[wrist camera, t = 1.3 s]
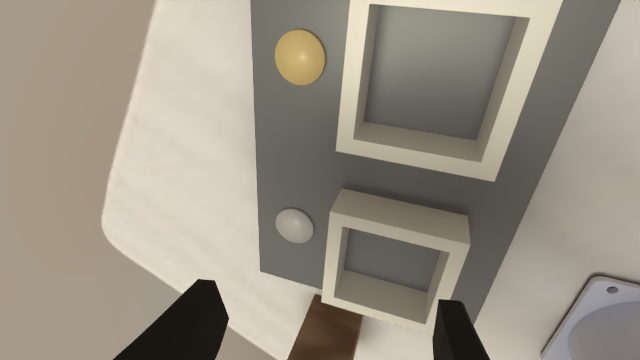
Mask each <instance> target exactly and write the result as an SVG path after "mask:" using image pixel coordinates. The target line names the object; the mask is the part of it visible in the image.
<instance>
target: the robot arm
mask: <svg viewBox="0 0 640 360" xmlns="http://www.w3.org/2000/svg"><path fill="white" fill-rule="evenodd" d="M609 287H613V288H609ZM228 320H229V317H228V314H227V312H226V309H225V306H224V304H223V301H222V298H221V296H220V293H219V291H218V288H217V285H216V283H215V281H214V280H202V279H198V280H197V281H196V282H195V283H194V284H193V285H192V286H191V287H190V288H189V289H188V290H187V291H186V292H184V293H183V294H182V295H181V296H180V297H179V298H178V299H177V300H176V301H175V302H174V303H173V304H172V305H171V306H170V307H169V308H168V309H167V310H166V311H165V312H164V313H163V314H162V315H161V316H160V317H159V318H158V319H157V320H156V321H155V322H154V323H153V324H152V325H150V326H149V327H148V328H147V329H146V330H145V331H144V332H143V333H142V334H141V335H140V336H139V337H138V338H137V339H135V340H134V341H133V342H132V343H131V344H130V345H129V346H128V347H126V349H124V350H123V351H122V352H121V353H120V354H119V355H117V356H116V357H115V358H114V359H113V360H215V358H216V356H217V354H218V351H219V349H220V346H221V343H222V340H223V337H224V334H225V330H226V327H227V324H228ZM433 355H434V360H490V358H489V356H488V354H487V353H486V351H485V349H484V347H483V345H482V343H481V341H480V339H479V337H478V335H477V333H476V331H475V328H474V326H473V324H472V322H471V320H470V317H469V315H468V313H467V310H466V308H465V305H464V303H462V302H461V301H457V300H444V299H439V300H438V306H437V313H436V320H435V326H434V333H433ZM541 360H640V285H637V284H633V283H628V282H624V281H620V280H616V279H612V278H607V277H602V276H598V277H594V278H592V279H591V280H590V281H589V282H588V284H587V285H586V287H585V288H584V290H583V291H582V293H581V294H580V296H579V298H578V299H577V301H576V302H575V304H574V305H573V307H572V308H571V310H570V311H569V313H568V314H567V316H566V317H565V319H564V320H563V322H562V323H561V325H560V327H559V328H558V330H557V331H556V333H555V334H554V336H553V337H552V339H551V340H550V342H549V343H548V345H547V346H546V348H545V349H544V351H543V352H542V354H541Z"/></svg>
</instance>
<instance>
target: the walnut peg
mask: <svg viewBox="0 0 640 360" xmlns="http://www.w3.org/2000/svg"><path fill="white" fill-rule="evenodd" d="M321 299H322V296H320V295H317V294H315V295H314V298H313V300H312V303H311V305H310V307H309V310H308V312H307V314H306V317H305V319H304V322H303V324H302V326H301V329H300V331H299V333H298V336H297V338H296V340H295V343H294V345H293V348H292V350H291V352H290V355H289V357H288V359H287V360H353V359H354V355H355V351H356V347H357V342H358V338H359V333H360V327H361V322H362V317H363V315H362V314H359V313H356V312H352V311H349V310H346V309H342V308H339V307H336V306H333V305H329V304H326V303H323V302H321Z"/></svg>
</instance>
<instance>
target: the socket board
mask: <svg viewBox="0 0 640 360" xmlns="http://www.w3.org/2000/svg"><path fill="white" fill-rule="evenodd" d="M620 1H621V0H251V28H252V56H253V83H254V111H255V139H256V167H257V195H258V223H259V251H260V271H261V272H264V273H268V274H271V275H275V276H278V277H281V278H285V279H288V280H292V281H295V282H298V283H302V284H305V285H308V286H312V287H315V288H319V289H322V299H321V302H323V303H326V304H329V305H333V306H336V307H339V308H342V309H346V310H349V311H352V312H356V313H359V314H362V315H365V316H369V317H372V318H375V319H378V320H382V321H385V322H388V323H392V324H395V325H398V326H401V327H405V328H408V329H411V330H415V331H418V332H421V333H424V334H428V335H431V336H433V333H434V326H435V320H436V313H437V306H438V300H439V299H444V300H457V301H461V302H462V303H464V305H465V308H466V310H467V313H468V315H469V317H470V320H471V322H472V324H473V325H474V323H475V321H476V319H477V316H478V314H479V312H480V310H481V308H482V305H483V303H484V301H485V299H486V297H487V294H488V292H489V290H490V288H491V286H492V283H493V281H494V279H495V277H496V275H497V272H498V270H499V268H500V266H501V264H502V261H503V259H504V257H505V255H506V253H507V250H508V248H509V246H510V244H511V242H512V239H513V237H514V235H515V233H516V231H517V228H518V226H519V224H520V222H521V220H522V217H523V215H524V213H525V211H526V209H527V206H528V204H529V202H530V200H531V198H532V195H533V193H534V191H535V189H536V187H537V184H538V182H539V180H540V178H541V175H542V173H543V171H544V169H545V167H546V164H547V162H548V160H549V158H550V156H551V153H552V151H553V149H554V147H555V145H556V142H557V140H558V138H559V136H560V134H561V131H562V129H563V127H564V125H565V123H566V120H567V118H568V116H569V114H570V112H571V109H572V107H573V105H574V103H575V101H576V98H577V96H578V94H579V92H580V90H581V87H582V85H583V83H584V81H585V79H586V76H587V74H588V72H589V70H590V68H591V65H592V63H593V61H594V59H595V57H596V54H597V52H598V50H599V48H600V46H601V43H602V41H603V39H604V37H605V35H606V32H607V30H608V28H609V26H610V24H611V21H612V19H613V17H614V15H615V13H616V10H617V8H618V6H619V4H620Z"/></svg>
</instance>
